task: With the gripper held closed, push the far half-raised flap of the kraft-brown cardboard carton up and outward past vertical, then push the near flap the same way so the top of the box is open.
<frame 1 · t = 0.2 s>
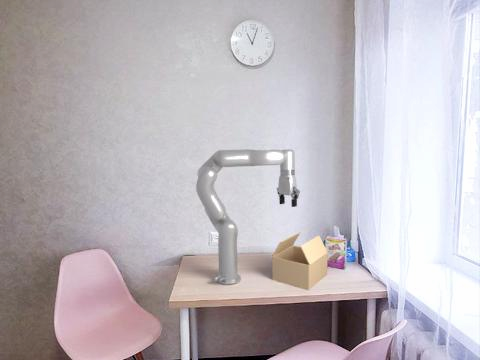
hand: (288, 205, 165), 37 cm above the table, tool pointing down, fingers open, 9 cm apart
candy bar box: (335, 266, 174), on the table
carton: (300, 277, 161), on the table
far flap: (286, 243, 164), point 16 cm above the table, hinge at 60.0°
near flap: (314, 249, 155), point 16 cm above the table, hinge at 60.0°
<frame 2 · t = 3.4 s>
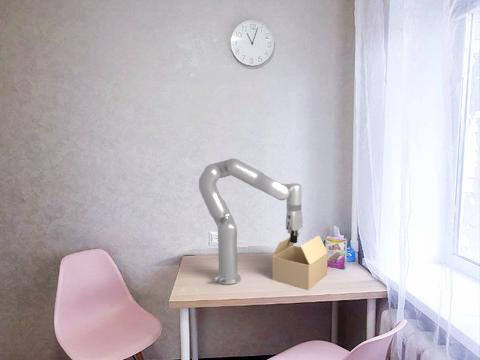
hand: (293, 242, 161), 18 cm above the table, tool pointing down, fingers closed
far flap: (286, 243, 164), point 16 cm above the table, hinge at 60.0°, touching gripper
everything else where it was.
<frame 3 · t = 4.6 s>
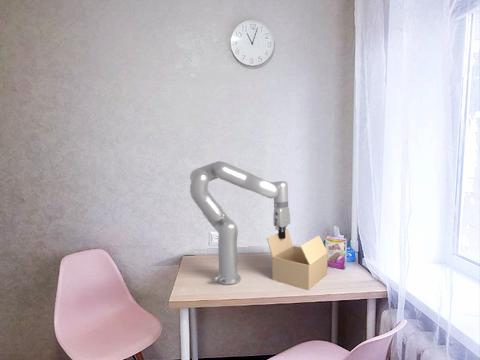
hand: (282, 238, 166), 19 cm above the table, tool pointing down, fingers closed
far flap: (280, 242, 167), point 17 cm above the table, hinge at 108.9°, touching gripper
everything else where it was.
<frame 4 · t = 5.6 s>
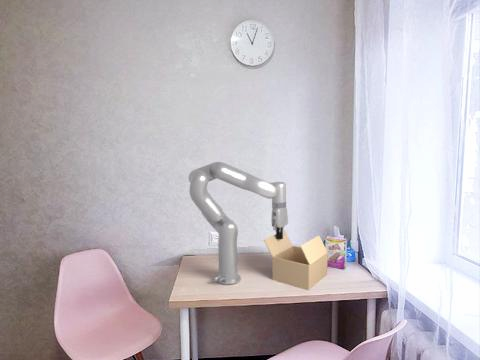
hand: (279, 238, 167), 18 cm above the table, tool pointing down, fingers closed
far flap: (278, 242, 167), point 16 cm above the table, hinge at 122.6°
everything else where it was.
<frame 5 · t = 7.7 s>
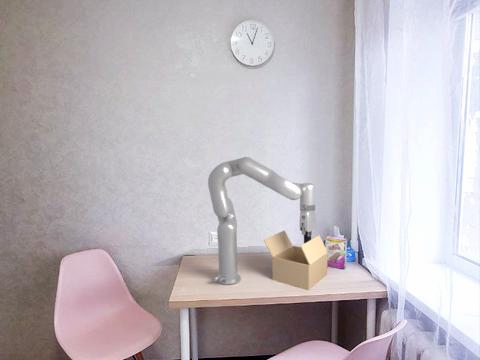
hand: (307, 243, 157), 19 cm above the table, tool pointing down, fingers closed
near flap: (314, 249, 154), point 16 cm above the table, hinge at 61.2°, touching gripper
everything else where it was.
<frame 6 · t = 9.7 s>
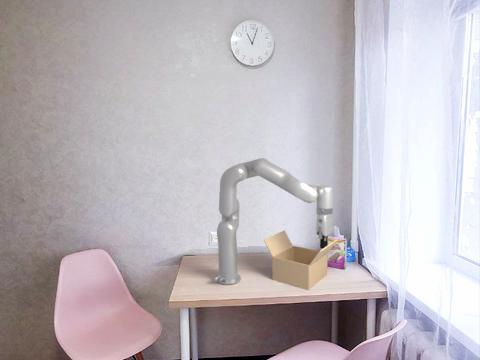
hand: (323, 248, 152), 18 cm above the table, tool pointing down, fingers closed
near flap: (324, 252, 151), point 16 cm above the table, hinge at 123.2°, touching gripper
everything else where it was.
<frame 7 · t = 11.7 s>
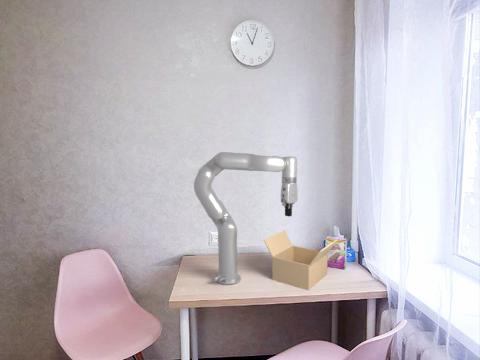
hand: (288, 215, 161), 32 cm above the table, tool pointing down, fingers closed
near flap: (324, 252, 151), point 16 cm above the table, hinge at 123.6°
everything else where it was.
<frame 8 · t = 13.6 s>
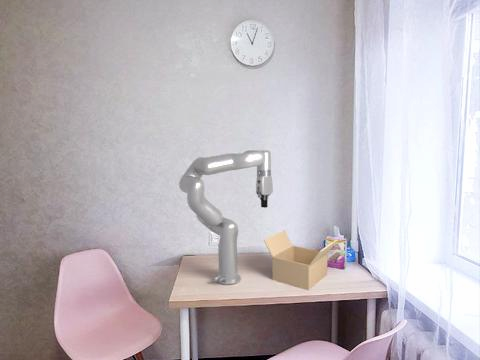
hand: (264, 207, 168), 35 cm above the table, tool pointing down, fingers closed
nothing on the table moved.
at the end: far flap at +123° (first picture: +60°); near flap at +124° (first picture: +60°) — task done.
